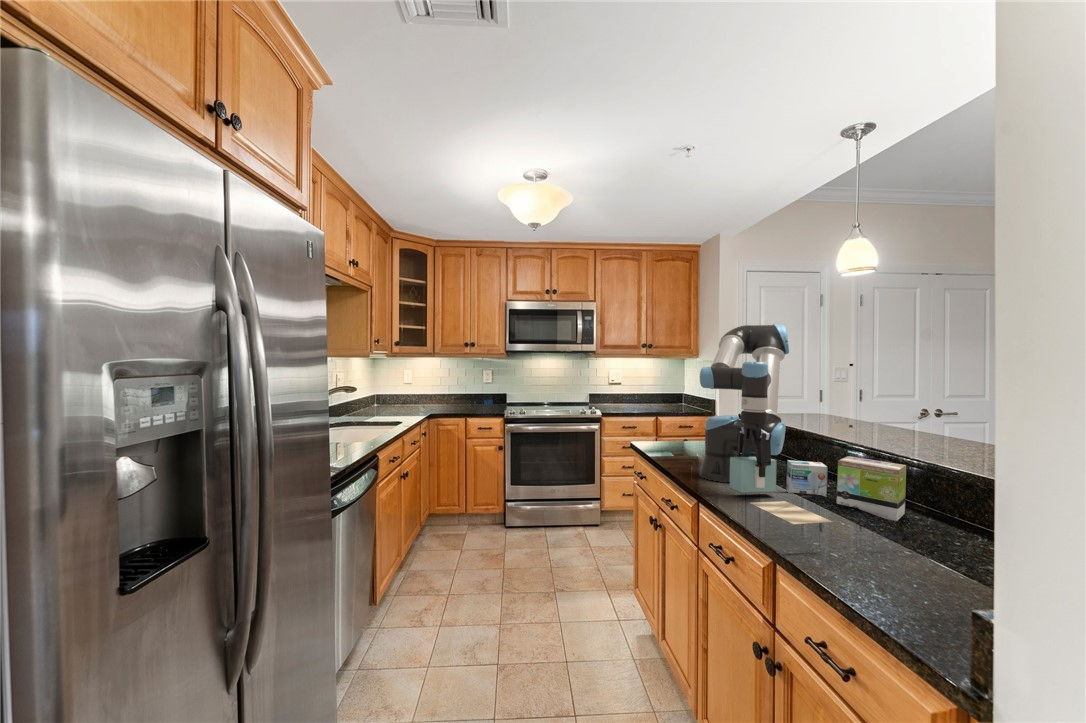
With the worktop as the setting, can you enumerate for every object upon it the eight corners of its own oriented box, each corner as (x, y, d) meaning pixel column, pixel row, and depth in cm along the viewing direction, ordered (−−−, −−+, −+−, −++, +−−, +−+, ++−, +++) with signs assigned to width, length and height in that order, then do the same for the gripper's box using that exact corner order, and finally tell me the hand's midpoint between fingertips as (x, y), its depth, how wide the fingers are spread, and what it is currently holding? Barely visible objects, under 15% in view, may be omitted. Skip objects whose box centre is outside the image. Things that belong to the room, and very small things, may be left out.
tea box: (835, 508, 138) (836, 459, 138) (845, 502, 144) (846, 455, 144) (898, 522, 126) (899, 468, 126) (906, 514, 133) (906, 463, 133)
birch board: (749, 507, 137) (749, 502, 137) (785, 506, 139) (785, 501, 139) (793, 529, 119) (793, 524, 119) (833, 527, 121) (833, 521, 121)
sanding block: (729, 488, 146) (730, 457, 146) (763, 487, 149) (763, 456, 149) (741, 493, 140) (741, 461, 141) (775, 492, 143) (776, 460, 143)
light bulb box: (790, 497, 149) (791, 463, 149) (785, 491, 155) (786, 459, 155) (827, 500, 146) (828, 466, 146) (821, 494, 152) (821, 462, 152)
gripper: (725, 407, 153) (724, 477, 153) (763, 414, 135) (762, 493, 135) (746, 407, 155) (744, 476, 155) (786, 414, 136) (784, 492, 136)
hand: (752, 484), depth 145 cm, fingers closed on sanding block, 6 cm apart
